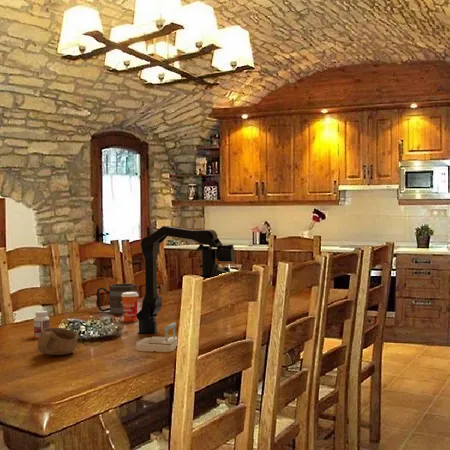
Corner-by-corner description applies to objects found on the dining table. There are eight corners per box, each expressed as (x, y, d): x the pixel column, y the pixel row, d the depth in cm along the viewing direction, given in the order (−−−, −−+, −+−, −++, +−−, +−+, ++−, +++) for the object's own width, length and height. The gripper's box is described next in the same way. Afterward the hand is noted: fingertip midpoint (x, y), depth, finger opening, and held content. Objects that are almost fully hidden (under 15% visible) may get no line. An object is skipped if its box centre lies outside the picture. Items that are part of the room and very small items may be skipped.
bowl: (69, 362, 223) (68, 333, 222) (28, 362, 224) (27, 333, 223) (83, 350, 241) (82, 323, 240) (45, 351, 241) (44, 324, 241)
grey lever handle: (162, 343, 236) (162, 326, 236) (171, 338, 246) (171, 322, 246) (170, 344, 236) (170, 327, 235) (179, 338, 245) (179, 322, 245)
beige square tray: (134, 351, 237) (134, 343, 237) (148, 343, 250) (147, 336, 250) (170, 353, 234) (170, 345, 234) (182, 345, 247) (182, 337, 247)
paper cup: (118, 324, 293) (117, 293, 292) (127, 321, 300) (126, 291, 299) (133, 325, 290) (133, 294, 289) (142, 322, 297) (141, 291, 296)
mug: (139, 313, 323) (139, 283, 322) (134, 318, 309) (133, 286, 309) (100, 313, 324) (100, 283, 324) (93, 318, 311) (92, 287, 310)
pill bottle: (49, 336, 269) (48, 309, 268) (50, 339, 263) (50, 312, 262) (33, 337, 266) (32, 310, 266) (34, 340, 261) (34, 313, 260)
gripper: (220, 264, 248) (220, 305, 248) (235, 259, 265) (235, 298, 266) (193, 263, 251) (193, 303, 252) (209, 259, 269) (209, 297, 269)
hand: (209, 300), depth 260 cm, fingers open, 9 cm apart
